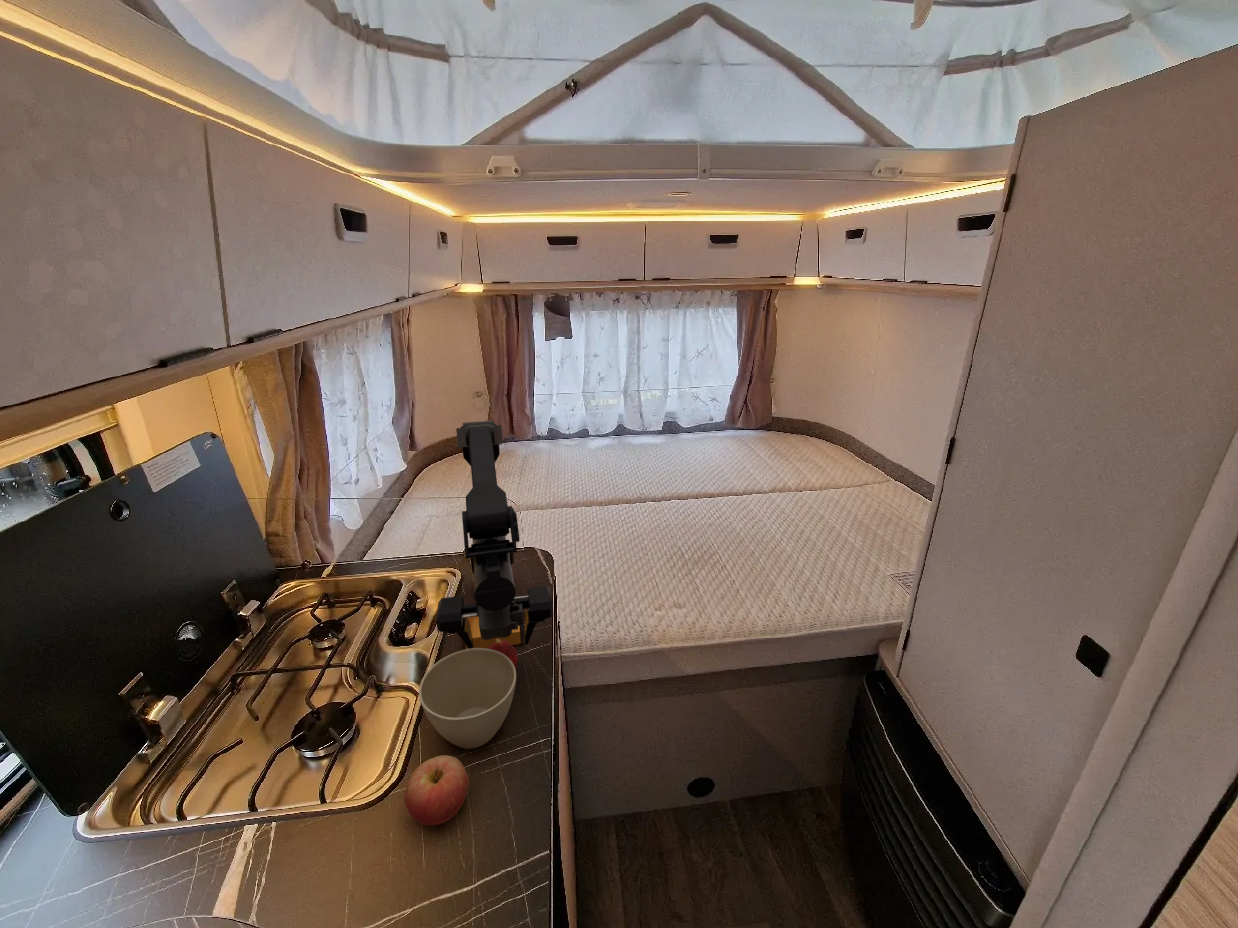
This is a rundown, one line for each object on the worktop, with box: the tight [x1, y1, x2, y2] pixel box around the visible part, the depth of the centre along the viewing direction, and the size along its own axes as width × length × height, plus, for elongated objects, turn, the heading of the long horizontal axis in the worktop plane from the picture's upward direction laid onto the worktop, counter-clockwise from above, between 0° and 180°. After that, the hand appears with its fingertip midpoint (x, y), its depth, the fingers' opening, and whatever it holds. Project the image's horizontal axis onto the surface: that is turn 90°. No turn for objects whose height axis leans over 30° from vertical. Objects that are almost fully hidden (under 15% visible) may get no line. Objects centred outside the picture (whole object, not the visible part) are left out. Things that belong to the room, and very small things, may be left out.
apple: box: [404, 754, 470, 826], centre depth 69 cm, size 8×8×8 cm
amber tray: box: [464, 617, 522, 649], centre depth 103 cm, size 10×10×3 cm
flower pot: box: [418, 648, 517, 750], centre depth 80 cm, size 14×14×10 cm
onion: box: [487, 639, 519, 669], centre depth 91 cm, size 6×6×8 cm
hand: (499, 646), depth 90 cm, fingers open, 9 cm apart
